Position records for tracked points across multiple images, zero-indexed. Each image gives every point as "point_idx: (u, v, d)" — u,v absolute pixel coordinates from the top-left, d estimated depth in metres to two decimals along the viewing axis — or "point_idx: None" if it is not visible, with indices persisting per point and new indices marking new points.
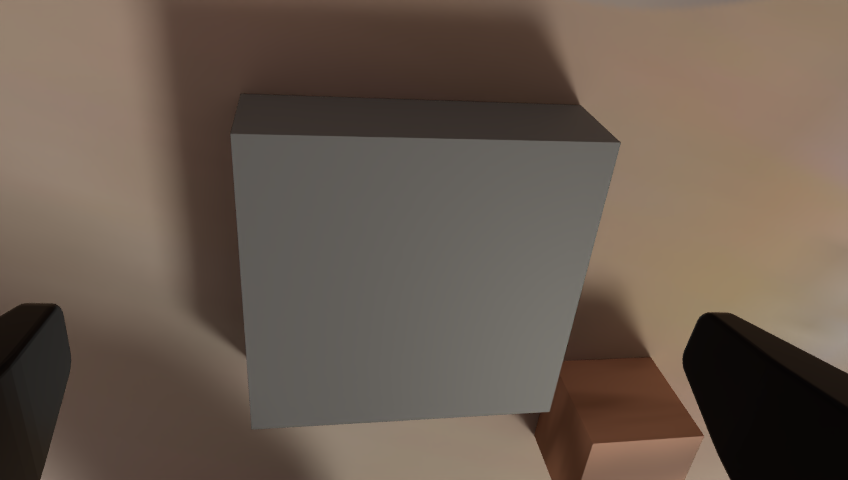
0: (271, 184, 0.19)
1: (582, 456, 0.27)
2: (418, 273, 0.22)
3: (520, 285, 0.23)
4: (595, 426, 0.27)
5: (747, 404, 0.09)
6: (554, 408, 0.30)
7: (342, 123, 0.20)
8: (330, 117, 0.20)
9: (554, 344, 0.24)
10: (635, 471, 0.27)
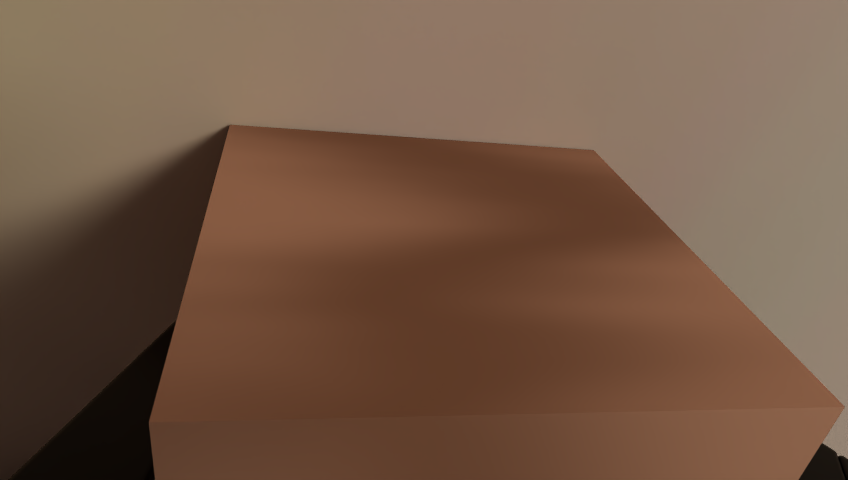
0: None
1: None
2: None
3: None
4: None
5: None
6: None
7: None
8: None
9: None
10: None
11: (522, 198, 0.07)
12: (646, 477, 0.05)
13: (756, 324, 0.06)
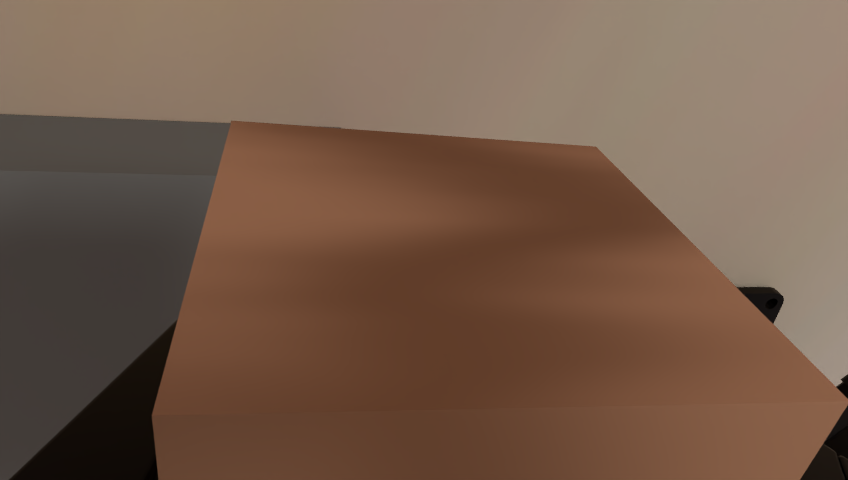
0: None
1: None
2: (79, 374, 0.17)
3: (80, 259, 0.16)
4: None
5: None
6: None
7: None
8: None
9: (194, 195, 0.15)
10: None
11: (525, 194, 0.07)
12: (651, 472, 0.05)
13: (760, 319, 0.06)
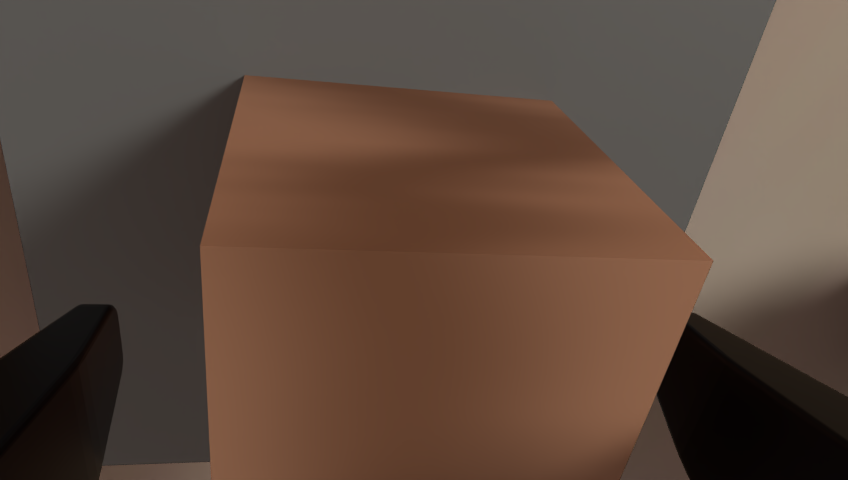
0: (147, 427, 0.13)
1: None
2: None
3: (379, 16, 0.10)
4: None
5: (706, 405, 0.08)
6: None
7: None
8: None
9: None
10: (388, 448, 0.07)
11: (485, 130, 0.09)
12: (566, 316, 0.07)
13: (659, 213, 0.07)
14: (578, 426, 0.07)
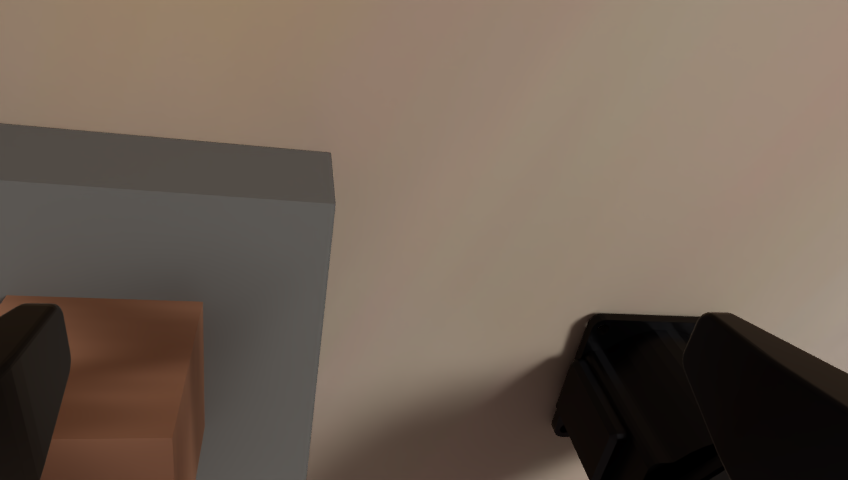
0: None
1: None
2: None
3: (83, 265, 0.17)
4: None
5: (747, 404, 0.09)
6: None
7: None
8: None
9: (193, 212, 0.17)
10: None
11: (129, 338, 0.16)
12: (104, 462, 0.14)
13: (176, 403, 0.15)
14: None
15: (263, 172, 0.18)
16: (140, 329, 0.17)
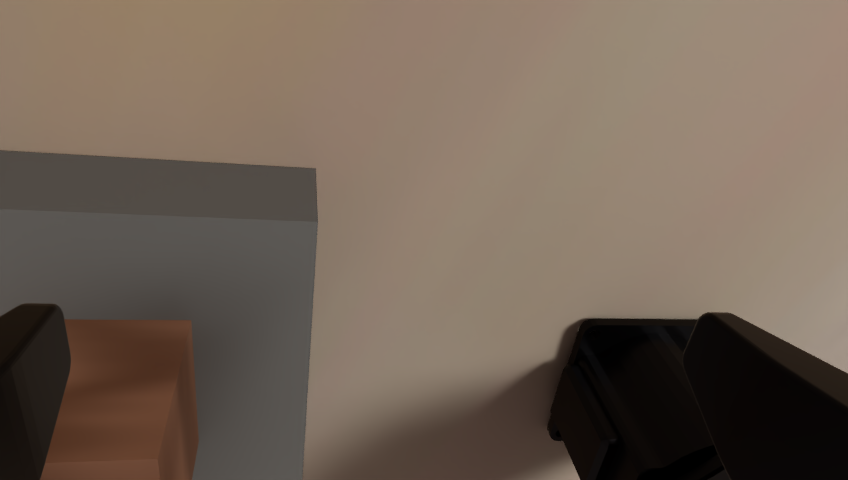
0: None
1: None
2: None
3: (71, 288, 0.17)
4: None
5: (747, 404, 0.09)
6: None
7: None
8: None
9: (177, 233, 0.17)
10: None
11: (117, 359, 0.17)
12: None
13: (162, 424, 0.15)
14: None
15: (247, 191, 0.18)
16: (129, 350, 0.17)
